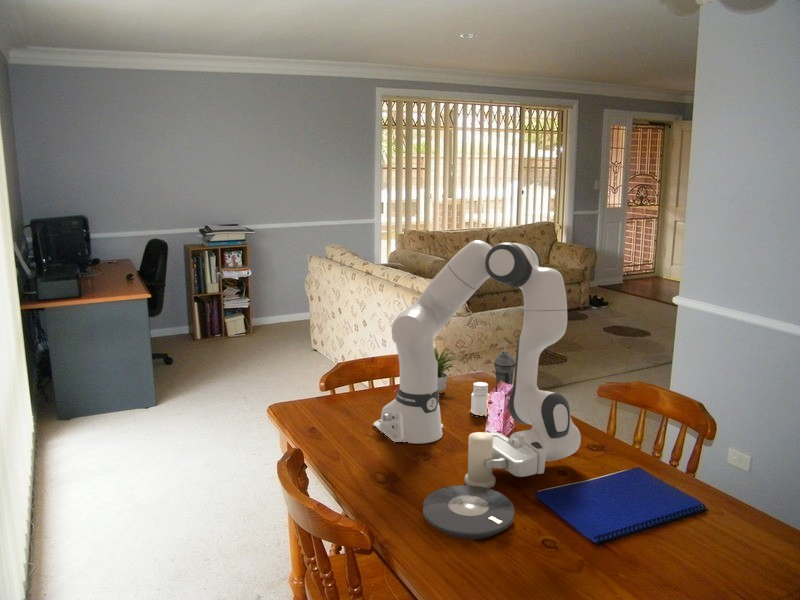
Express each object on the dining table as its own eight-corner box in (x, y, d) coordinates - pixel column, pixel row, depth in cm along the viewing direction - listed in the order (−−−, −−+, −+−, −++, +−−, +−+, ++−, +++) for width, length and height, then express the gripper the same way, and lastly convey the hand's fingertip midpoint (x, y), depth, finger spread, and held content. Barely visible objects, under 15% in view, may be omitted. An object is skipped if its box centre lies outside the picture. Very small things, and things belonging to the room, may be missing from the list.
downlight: (492, 418, 205) (493, 387, 204) (470, 418, 205) (470, 387, 204) (489, 410, 213) (490, 380, 212) (468, 410, 213) (468, 380, 212)
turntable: (404, 509, 145) (404, 502, 145) (468, 483, 157) (468, 476, 157) (468, 547, 130) (468, 540, 129) (533, 515, 142) (533, 508, 142)
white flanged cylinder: (458, 481, 162) (459, 436, 160) (479, 472, 167) (480, 428, 165) (480, 492, 156) (481, 445, 154) (501, 483, 161) (503, 437, 159)
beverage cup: (513, 392, 229) (515, 337, 226) (515, 399, 222) (517, 342, 219) (492, 392, 230) (494, 337, 227) (493, 398, 223) (495, 342, 219)
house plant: (444, 402, 220) (445, 355, 217) (409, 395, 227) (410, 349, 224) (463, 390, 232) (464, 346, 229) (429, 384, 239) (430, 341, 236)
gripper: (501, 423, 174) (456, 431, 169) (548, 451, 156) (500, 462, 150) (500, 445, 176) (456, 454, 170) (547, 476, 157) (499, 487, 152)
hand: (477, 458), depth 160 cm, fingers closed on white flanged cylinder, 6 cm apart
